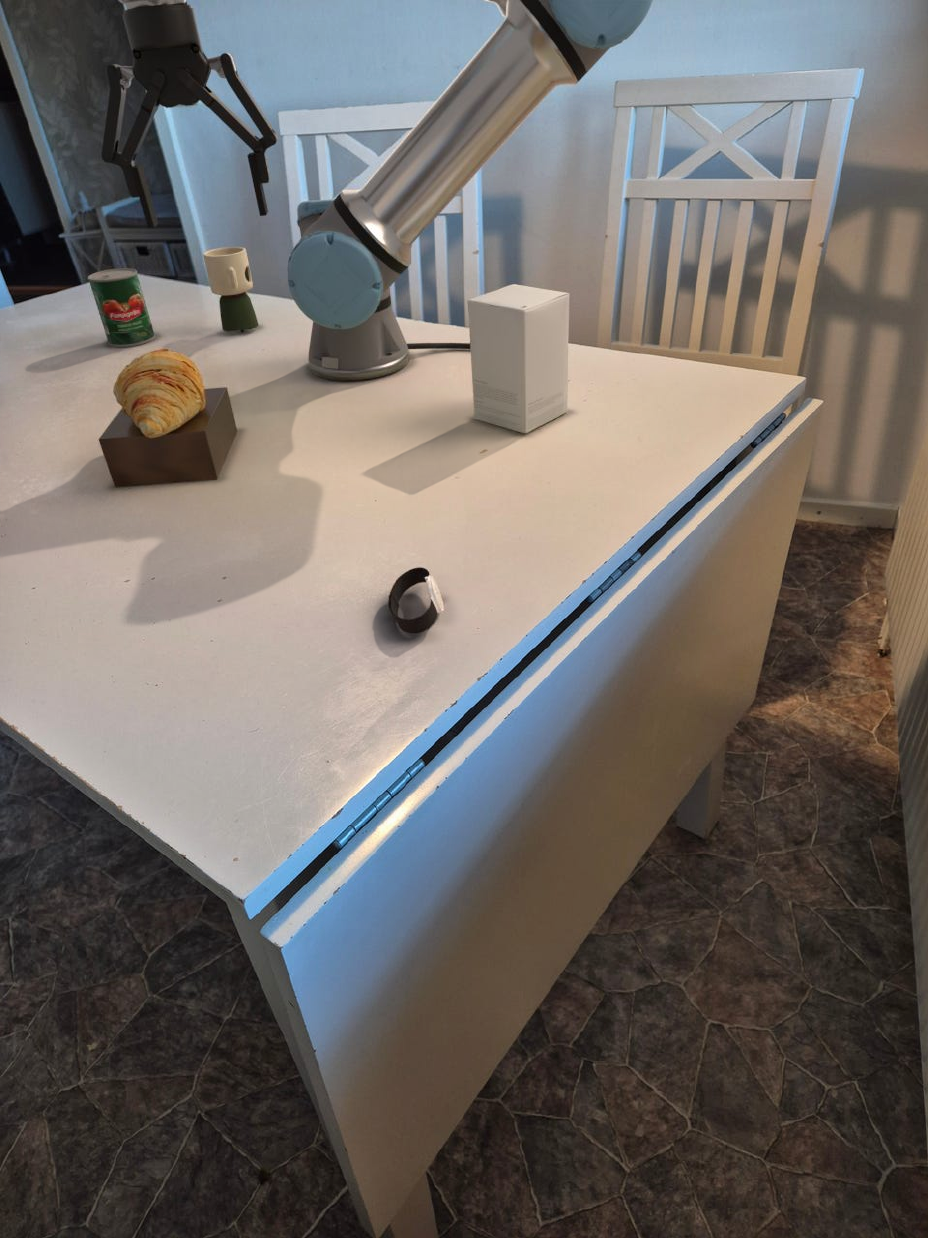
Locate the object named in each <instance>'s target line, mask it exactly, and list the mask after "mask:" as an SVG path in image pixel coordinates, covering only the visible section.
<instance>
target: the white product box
mask: <svg viewBox="0 0 928 1238" xmlns="http://www.w3.org/2000/svg"><path fill="white" fill-rule="evenodd" d="M467 314H468V328H469V329H468V331H469V343H470V349H469V350H470V364H471V383H472V384H471V385H472V398H473V419H475V420H477V421H481V422H484V423H489V424H491V425H494V426H498V427H501V428H505V429H508V430H511V431H515V432H518V433H522V434H528V433H530V432H531V431H533V430H535V429H538V428H539V427H541V426H543V425H545V424H547V423H549V422H550V421H552V420H553V421H554V420H555V419H556V418H558V417H561V416H562V415H564V414H566V413H567V414H568V402H569V401H568V396H569V394H568V393H569V392H568V391H569V336H570V335H569V333H570V331H569V329H570V293H569V292H564V291H558V290H551V289H545V288H539V287H533V286H527V285H521V284H515V283H513V284H509V285H506V286H503V287H501V288H499V289H496V290H493V291H490V292H486V293H483V294H480V295H478V296H475V297H473V298H470V299H468V300H467Z"/></svg>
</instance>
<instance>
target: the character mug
mask: <svg viewBox="0 0 928 1238" xmlns="http://www.w3.org/2000/svg"><path fill="white" fill-rule="evenodd" d="M202 257H203V262H204V267H205V270H206V274H207V278H208V279H207V280H208V283H209V288H210V291H211V293H212V294H214V295H217V296H220V297H219V300H218V301H219V312H220V322H221V327H222V331H224V332H235V331H240V333H245V331H251V330H254V329H256V328H258V327H259V326H260V324H259V321H258V317H257V314H256V311H255V308H254V304H253V303H252V300H251V297H250V296H249V294H248V291H251V290H252V289H253V288H254V282H253V277H252V272H251V268H250V263H249V259H248V254H247V249H246V248H245V247H241V246H228V247H227V246H225V247H219V248H218V247H217V248H214V249H213V248H212V249H209V250H206V251H204V252H203V253H202Z"/></svg>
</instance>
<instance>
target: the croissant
mask: <svg viewBox="0 0 928 1238" xmlns="http://www.w3.org/2000/svg"><path fill="white" fill-rule="evenodd" d="M203 381H204V380H203V377H202V374H201V372H200V370H199V368H198V367H197V365H196V364H195V362H194V361H193V360H192V359H191V358H189V357H188V356H186V355H185V354H182V353H180V352H175V351H171V350H170V349H169V348H167V349H166V348H163V349H160V350H153V351H150V352H147V353H145V354H143V355H141V356H140V357H136V358H134V359H133V360H132V361H130V363H128V364H127V365H125V367H124V368H123V369H122V370H121V371H120V373H119V374H118V375H117V379H116V381H115V382H114V385H113V395H114V397H115V399H116V403H117V404H118V405H119V406H121V409H123V412H124V413H125V415H126V416H128V417H131V419H132V420H133V422H134V423H135V425H136V426H137V427H138V428H140V429H141V432H142V433H143V434H144V435H145V436H146V437H149V438H155V437H159V436H162V435H165V434H167V433H169V432H171V431H173V430H176V429H177V428H179V427H180V426H182V425H183V424H184V423H186V422H187V421H189V420H190V419H192V418H193V417H194V416H195V415H196V414H198V412H199V411H202V410H203V409H204V408H205V406H206V399H205V391H204V389H205V387H204V382H203Z"/></svg>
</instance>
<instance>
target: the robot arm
mask: <svg viewBox="0 0 928 1238" xmlns="http://www.w3.org/2000/svg"><path fill="white" fill-rule="evenodd" d="M117 1H118V2H119V3H120V4H123V5H125V9H124V10H123V11H122V12H123V14H122V15H121V16H122V19H123V23H124V27H125V30H126V34H127V38H128V42H129V45H130V50H131V53H132V58H133V62H132V66H130V65H120V64H118V63H115V64H113V63H112V64H108V65H107V67H106V74H107V80H108V86H109V94H108V95H109V96H108V102H107V103H108V104H107V109H106V110H107V111H106V117H105V119H106V120H105V124H104V134H103V141H102V147H101V159H102V161H103V162H104V163H106V164H113V165H116V166H118V167H120V168H121V171H122V173H123V177H124V179H125V180H124V181H125V184H126V187H127V190H128V193H129V195H130V196H131V198H132V199H133V198H138V199H139V201H140V205H141V208H142V212H143V215H144V219H145V223H146V226H147V229H154V228H155V229H156V227H157V226H158V225H159V220H158V216H157V214H156V209H155V206H154V203H153V199H152V195H151V191H150V188H149V184H148V181H147V176H146V174H145V170H144V169H145V168H144V166H143V164H141V163H140V164H135V163H136V158H137V157H138V154H139V152H140V150H141V147H142V145H143V144H144V143H143V142H144V140H145V138H146V135H147V133H148V131H149V129H150V127H151V124H152V122H153V119H154V117H155V115H156V113H157V111H158V109H159V107H160V106H162V107H164V108H166V109H170V108H174V107H177V106H179V105H181V106H186V107H189V106H195V105H197V104H198V103H199V102H201V103H202V104H203V105H204V106H206V107H207V108H208V109H209V110H210V111H212V112H213V114H214V115H216V117H218V119H220V120H221V122H223V123H224V124H225V125H226V126H227V127H228V128H229V130H231V131H232V132H233V133H234V134H235V135H236V136H237V137H238V138H239V139H240V140H241V141H242V142H243V143H244V144H245V145H246V146H247V147H249V148H250V150H251V151H252V152H248V154H247V160H248V165H249V169H250V175H251V180H252V184H253V189H254V194H255V198H256V203H257V208H258V213H259V217H264V216H267V214H268V213H269V209H268V204H267V200H266V195H265V189H264V186H263V184H269V182H270V179H271V174H270V170H269V165H268V159H267V154H266V153H267V149H269V148H271V147H273V146H274V145H276V144H277V143H278V141H279V136H278V134H277V132H276V131H275V129H274V128H273V126H272V124H271V123H270V121H269V120H268V119H267V117H266V115H265V114H264V112H263V111H262V109H261V107H260V106H259V104H258V103H257V102H256V100H255V98H254V97H253V95H252V94H251V92H250V91H249V89H248V88H247V86H246V84H245V83H244V82H243V80H242V78H241V77H240V75H239V73H238V69H237V66H236V65H237V64H236V63H235V58H234V56H233V55H232V54H231V53H230V52H223V53H222V54H220V55H218V56H215V57H210V58H208V57H207V56H206V54H205V52H204V49H203V46H202V45H203V44H202V41H201V37H200V31H199V28H198V24H197V20H196V14H195V11H194V8H193V7H192V6H191V4H188V1H187V0H117ZM484 1H485V2H489V3H492V4H495V5H496V6H497V9H498V10H499V13H500V14H501V16H502V17H504V20H503V22H501V24H500V25H499V26H498V27H497V28H496V30H495V31H494V32H493V33H492V34H491V36H489V38H488V39H487V40H486V41H485V43H484V44H483V45H482V46H481V48H480V49H479V50H478V51H477V52H476V53H475V54H474V56H473V57H472V58H471V59H470V60H469V62H468V63H467V64H466V65H465V66H464V68H462V70H461V71H460V72H459V73H458V74H457V76H456V77H455V78H454V79H453V80H452V82H451V83H450V84H449V85H448V86H447V87H446V89H444V91H443V92H442V94H440V95H439V97H438V98H437V99H436V100H435V102H434V103H433V104H432V105H431V106H430V107H429V108H428V110H427V111H426V112H425V113H424V115H423V116H421V118H420V119H419V120H418V122H417V123H416V124H415V125H414V126H413V128H411V130H410V131H409V132H408V133H407V135H406V136H404V138H403V139H402V140H401V141H400V142H399V144H398V145H397V146H396V147H395V148H394V150H393V151H392V152H391V153H390V154H389V155H388V157H387V158H386V159H385V160H384V162H382V164H381V165H380V166H379V167H378V169H376V171H375V172H374V174H372V176H371V177H370V178H369V179H368V180H367V181H366V183H365V184H364V185H363V186H362V187H361V188H358V189H342V190H341V191H340V192H339V193H338V195H337V196H336V197H335V198H327V199H326V198H325V199H316V200H305V201H301V202H300V203H299V204H298V205H297V208H296V213H297V219H296V225H297V227H298V228H299V233H300V239H299V241H298V242H297V243H296V244H295V245H294V247H293V248H292V250H291V252H290V256H289V258H288V263H287V282H288V288H289V292H290V296H291V297H292V299H293V301H294V303H295V305H296V306H297V307H298V309H299V311H301V313H302V314H304V315H305V316H306V318H308V319H309V320H311V321H312V326H311V327H312V328H311V332H310V333H311V334H310V341H309V346H308V347H309V349H308V357H307V358H308V359H307V360H308V365H309V370H310V372H311V373H312V374H313V375H315V376H317V377H319V378H321V379H326V380H332V381H342V382H343V381H346V382H347V381H348V382H349V381H351V382H352V381H363V380H364V381H365V380H371V379H376V378H379V377H380V378H381V377H384V376H388V375H391V374H394V373H395V372H398V371H400V370H402V369H403V368H405V367H406V366H407V365H408V363H409V362H410V354H409V350H448V349H449V350H452V349H454V350H471V349H470V342H414V343H413V342H412V343H410V342H409V343H408V342H407V341H406V338H405V337H404V334H403V331H402V329H401V328H400V324H399V322H398V320H397V317H396V315H395V312H394V310H393V306H392V297H391V286H393V284H394V283H395V282H396V281H397V280H398V279H399V278H400V277H401V275H402V274H403V273H404V272H405V271H406V270H407V269H408V267H410V265H412V247H413V243H414V242H415V241H416V240H417V239H418V238H419V237H420V236H421V235H422V234H423V232H424V231H425V230H426V229H428V227H429V226H430V225H431V224H432V223H433V222H434V221H435V219H436V218H437V217H438V216H439V215H440V214H441V213H442V212H443V211H444V209H445V208H447V206H448V205H449V204H450V203H451V202H452V201H453V200H454V198H456V196H457V195H458V194H459V193H460V192H461V191H462V190H463V189H464V188H465V187H466V185H467V184H468V183H469V182H470V181H471V180H472V179H473V177H474V176H475V175H476V174H478V172H479V171H480V170H481V169H482V168H483V166H485V164H486V163H487V162H488V161H489V160H490V159H491V158H492V157H493V155H494V154H495V153H496V152H497V151H498V150H499V149H500V148H501V147H502V146H503V145H504V144H505V143H506V141H507V140H508V139H509V138H510V137H511V136H512V135H513V134H514V133H515V131H516V130H517V129H518V128H519V127H520V126H521V125H522V124H523V123H524V121H526V119H528V117H529V116H530V115H531V114H532V113H533V111H535V109H537V107H538V106H539V105H540V104H541V103H542V102H543V101H544V100H545V98H547V96H549V94H550V93H552V91H553V90H554V89H555V88H556V87H558V86H577V84H578V83H579V82H580V81H581V80H582V79H583V78H584V77H585V75H587V73H589V72H590V70H591V69H592V68H593V67H594V66H595V65H596V64H597V63H598V61H600V59H602V58H603V56H604V55H606V53H607V52H608V51H609V50H610V48H613V47H615V46H618V45H619V44H622V43H623V42H624V41H625V40H627V39H629V38H630V37H631V36H632V35H633V34H634V33H635V31H637V29H638V28H639V27H640V26H641V24H642V23H643V21H644V19H646V16H647V15H648V13H649V11H650V8H651V6H652V5H653V4H652V3H653V1H654V0H484ZM212 70H213V71H215V72H216V73H217V75H218V77H220V78H221V79H226V81H227V83H228V85H229V87H230V89H231V90H232V92H233V93H234V95H235V96H236V97H237V100H239V102H240V104H241V105H242V107H243V108H244V110H245V112H246V113H247V114H248V116H249V117H250V119H251V121H252V122H253V124H254V125H255V126H256V128H257V130H258V131H259V132H260V134H261V137H259V136H258V135H256V134H255V133H254V131H253V130H251V128H250V127H248V125H246V123H244V121H242V120H241V118H240V117H238V115H236V113H234V112H233V111H232V109H230V107H228V106H227V105H226V104H225V103H224V102H223V101H222V99H220V98H219V96H218V95H217V94H216V93H215V92H214V91H213V89H211V88H210V87H209V86H208V85H207V83H208V80H209V78H210V75H211V73H212ZM133 78H134V79H135V81H137V82H138V83H139V85H140V86H141V87H142V88H143V89H144V90H145V91H146V92H145V95H144V97H143V100H142V102H141V105H140V109H139V111H138V113H137V116H136V118H135V120H134V123H133V125H132V127H131V130H130V133H129V135H128V136H127V139H126V142H125V144H124V146H123V149H122V151H119V148H120V147H119V146H120V139H121V134H122V133H121V132H122V126H123V120H124V119H123V118H124V113H125V112H124V111H125V104H126V97H127V89H129V88H130V87H131V84H132V80H133Z"/></svg>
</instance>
